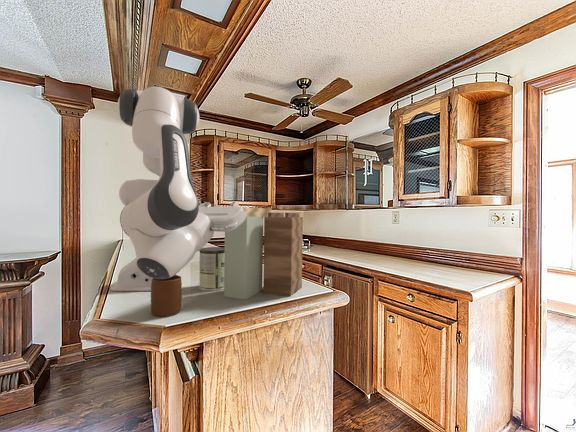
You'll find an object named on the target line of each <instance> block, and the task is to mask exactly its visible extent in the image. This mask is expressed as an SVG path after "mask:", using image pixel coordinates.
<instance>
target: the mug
mask: <svg viewBox="0 0 576 432" xmlns="http://www.w3.org/2000/svg"><path fill="white" fill-rule="evenodd" d="M182 284H183V282H182V276H181V275H178V274H177V275H176V274H175V275H174V276H172V277H170V278H168V279H155V278H152V283H151V291H150V314H151V315H152V316H154V317H157V318H158V317H159V318H163V317H166V318H167V317H172V316H175V315H177V314H179V313H180V311H181V310H182V297H183V296H182V295H183V293H182V291H183V290H182V287H183V286H182Z"/></svg>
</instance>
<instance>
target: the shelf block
mask: <svg viewBox="0 0 576 432" xmlns="http://www.w3.org/2000/svg"><path fill="white" fill-rule="evenodd" d="M224 248H225V257H224V289H223V297H225V298H231V299H232V298H233V299H238V300H239V299H241V300H248V299H249V298H251V297H252V296H254V295H256V294H258V293H260V292H261V291H263V275H264V217H246V219H245V220H244V222H243V223H242V224H240V225H239V226H238V227H237V228H236V229H234V230H232V231H229V232H224Z"/></svg>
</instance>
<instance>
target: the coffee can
mask: <svg viewBox="0 0 576 432" xmlns="http://www.w3.org/2000/svg"><path fill="white" fill-rule="evenodd" d="M198 252H199V286H198V288H199V289H200V290H201V291H207V292H214V291H221V290H222V291H223V290H224V257H225V246H224V247H220V246H214V247H213V246H211V247H203V248H202V249H201V250H199V251H198Z"/></svg>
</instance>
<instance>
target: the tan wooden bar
mask: <svg viewBox="0 0 576 432" xmlns="http://www.w3.org/2000/svg"><path fill="white" fill-rule="evenodd" d="M241 207H242V206H241ZM242 208H243V209H244V212H245V216H246V217H263V218H264V217H268V213H272V208H269V207H266V208H265V207H263V208H262V207H244V206H243V207H242Z"/></svg>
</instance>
